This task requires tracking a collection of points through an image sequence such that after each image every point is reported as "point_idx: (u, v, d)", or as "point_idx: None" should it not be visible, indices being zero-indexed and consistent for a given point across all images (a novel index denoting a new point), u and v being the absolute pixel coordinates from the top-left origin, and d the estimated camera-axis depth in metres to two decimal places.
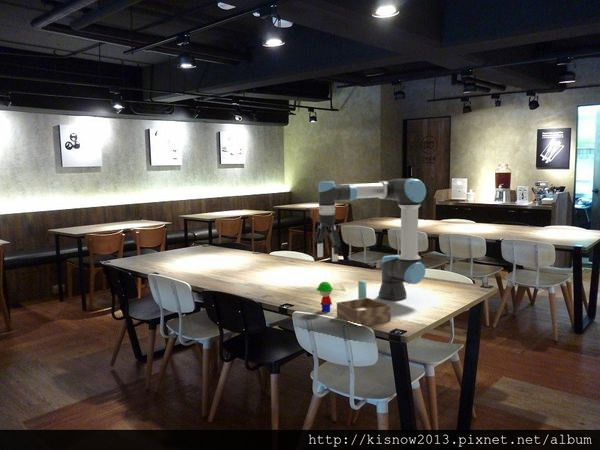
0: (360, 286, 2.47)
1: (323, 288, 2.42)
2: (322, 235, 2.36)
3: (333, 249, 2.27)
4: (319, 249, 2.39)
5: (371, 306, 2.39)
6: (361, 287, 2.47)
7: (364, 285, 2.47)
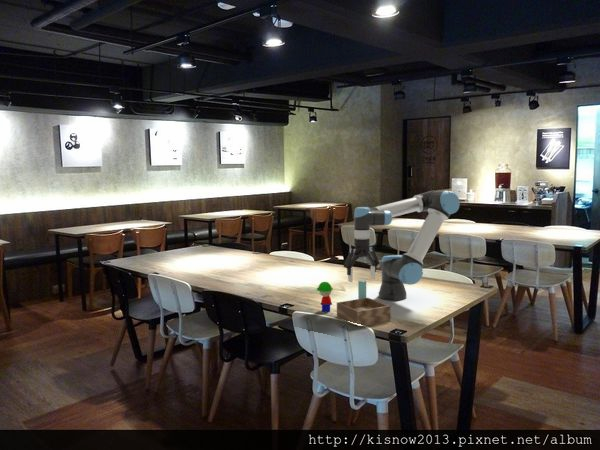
0: (360, 286, 2.47)
1: (323, 288, 2.42)
2: (367, 258, 2.49)
3: None
4: (371, 271, 2.52)
5: (371, 306, 2.39)
6: (361, 287, 2.47)
7: (364, 285, 2.47)
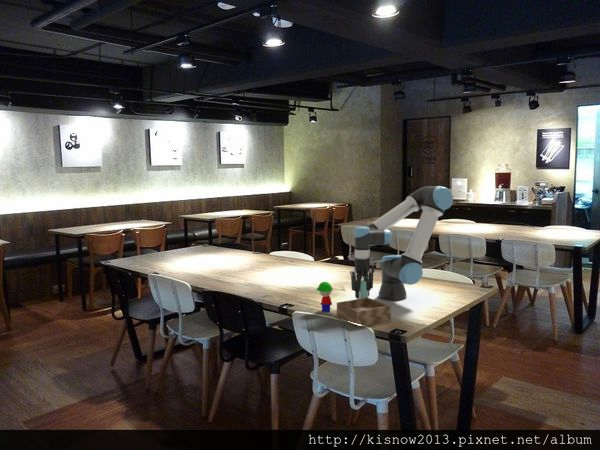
0: (360, 286, 2.47)
1: (323, 288, 2.42)
2: (364, 279, 2.50)
3: None
4: None
5: (371, 306, 2.39)
6: (361, 287, 2.47)
7: (364, 285, 2.47)
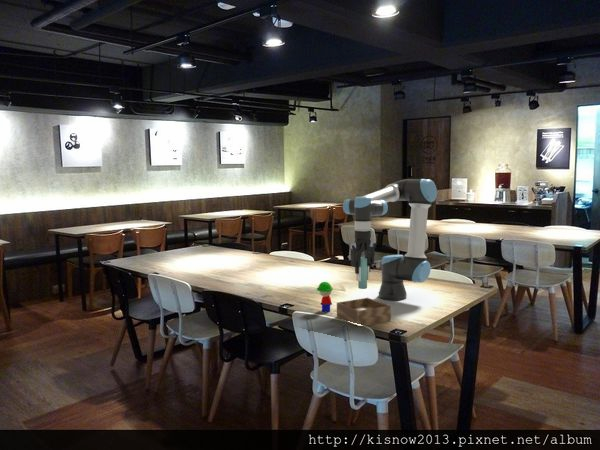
0: (360, 263, 2.28)
1: (323, 288, 2.42)
2: (365, 253, 2.30)
3: None
4: None
5: (371, 306, 2.39)
6: (362, 264, 2.27)
7: (364, 262, 2.27)
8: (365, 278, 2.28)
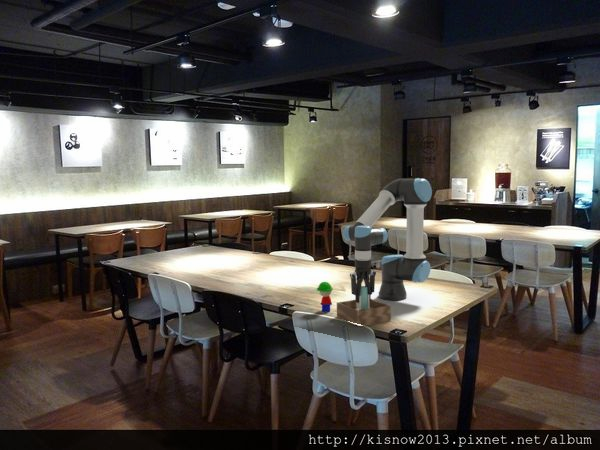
0: (361, 292, 2.29)
1: (323, 288, 2.42)
2: (365, 282, 2.31)
3: None
4: None
5: (371, 306, 2.39)
6: (362, 293, 2.29)
7: (365, 291, 2.29)
8: (365, 307, 2.30)
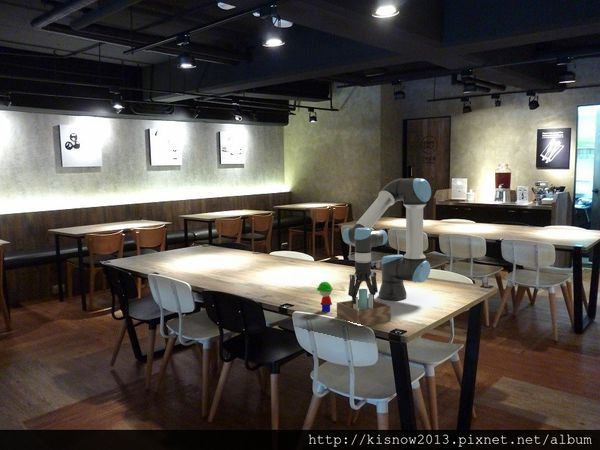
0: (361, 295, 2.29)
1: (323, 288, 2.42)
2: (367, 283, 2.32)
3: None
4: (369, 299, 2.34)
5: None
6: (362, 296, 2.29)
7: (365, 294, 2.29)
8: (365, 309, 2.30)
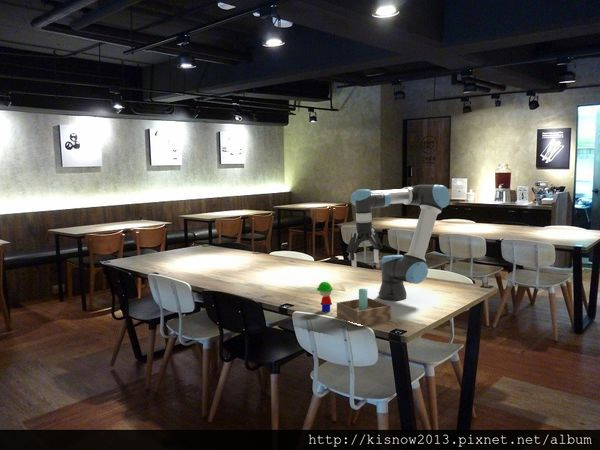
0: (361, 295, 2.29)
1: (323, 288, 2.42)
2: (370, 241, 2.42)
3: None
4: (374, 255, 2.44)
5: (371, 306, 2.39)
6: (362, 296, 2.29)
7: (365, 294, 2.29)
8: (365, 309, 2.30)
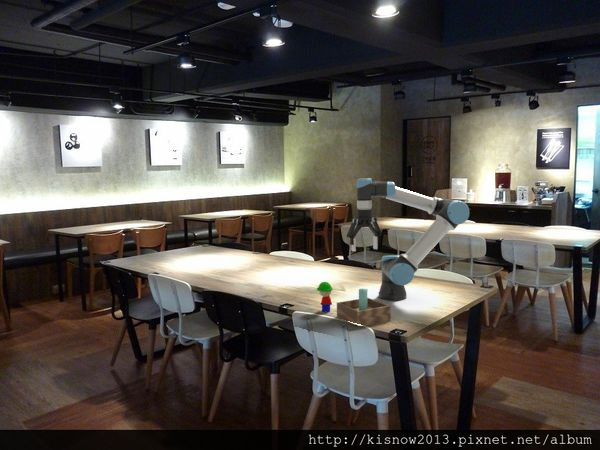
0: (361, 295, 2.29)
1: (323, 288, 2.42)
2: (370, 228, 2.55)
3: None
4: (373, 241, 2.57)
5: (371, 306, 2.39)
6: (362, 296, 2.29)
7: (365, 294, 2.29)
8: (365, 309, 2.30)
